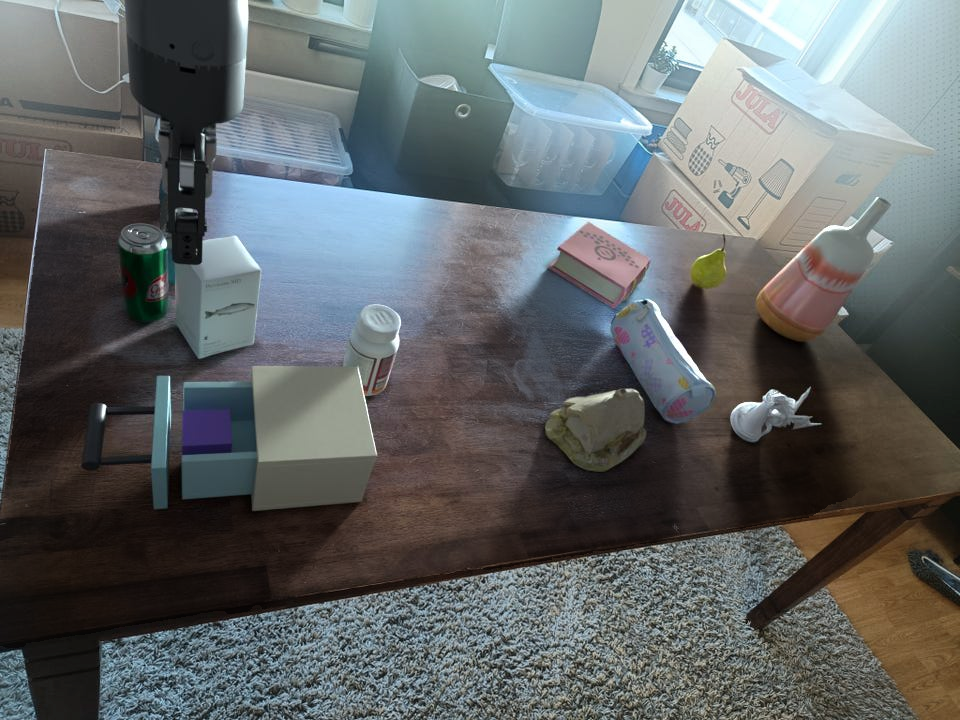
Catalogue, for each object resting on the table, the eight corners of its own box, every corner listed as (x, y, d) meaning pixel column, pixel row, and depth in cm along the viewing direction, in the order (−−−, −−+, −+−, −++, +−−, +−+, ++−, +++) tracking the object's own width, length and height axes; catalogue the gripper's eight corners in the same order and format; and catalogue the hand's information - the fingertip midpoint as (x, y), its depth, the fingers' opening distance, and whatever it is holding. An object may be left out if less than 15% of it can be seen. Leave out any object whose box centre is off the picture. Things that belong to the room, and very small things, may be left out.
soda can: (155, 330, 78) (152, 252, 71) (115, 316, 78) (107, 237, 70) (176, 306, 82) (175, 230, 74) (138, 293, 82) (133, 216, 74)
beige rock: (578, 482, 82) (612, 436, 76) (532, 418, 88) (560, 370, 82) (649, 454, 90) (685, 410, 84) (602, 397, 96) (633, 352, 89)
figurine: (718, 413, 102) (762, 362, 94) (752, 412, 105) (798, 363, 97) (754, 468, 95) (806, 419, 87) (790, 465, 98) (843, 417, 91)
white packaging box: (197, 361, 77) (199, 281, 69) (174, 322, 80) (172, 241, 72) (255, 346, 82) (263, 270, 73) (230, 309, 85) (235, 232, 77)
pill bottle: (383, 364, 86) (401, 302, 79) (389, 398, 82) (409, 337, 75) (338, 362, 84) (352, 298, 77) (342, 397, 80) (357, 333, 73)
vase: (750, 329, 125) (854, 201, 105) (747, 291, 136) (841, 169, 116) (817, 359, 124) (933, 236, 105) (809, 319, 135) (913, 201, 116)
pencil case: (599, 333, 108) (625, 291, 101) (641, 335, 111) (667, 294, 105) (653, 430, 94) (686, 388, 88) (698, 429, 98) (732, 388, 92)
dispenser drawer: (84, 515, 59) (75, 472, 55) (96, 420, 66) (89, 375, 62) (266, 500, 66) (272, 461, 61) (259, 416, 73) (264, 375, 69)
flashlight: (195, 201, 99) (196, 173, 95) (194, 292, 85) (194, 263, 82) (160, 197, 97) (159, 169, 93) (152, 290, 83) (151, 260, 80)
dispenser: (252, 511, 66) (258, 462, 60) (246, 417, 74) (251, 365, 68) (361, 501, 70) (377, 455, 65) (345, 414, 78) (358, 366, 73)
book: (617, 311, 114) (630, 290, 111) (548, 267, 117) (558, 246, 114) (642, 281, 125) (654, 261, 121) (577, 242, 128) (588, 221, 124)
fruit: (719, 291, 132) (752, 244, 124) (705, 300, 127) (739, 252, 119) (692, 271, 134) (724, 225, 126) (678, 280, 130) (710, 232, 122)
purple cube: (182, 472, 64) (182, 446, 61) (182, 437, 67) (182, 410, 64) (230, 469, 66) (231, 443, 63) (228, 435, 69) (230, 408, 66)
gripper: (133, -15, 46) (143, 180, 57) (116, 69, 37) (132, 281, 48) (242, 10, 49) (232, 190, 60) (251, 93, 40) (237, 287, 51)
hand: (188, 230), depth 54 cm, fingers open, 8 cm apart
